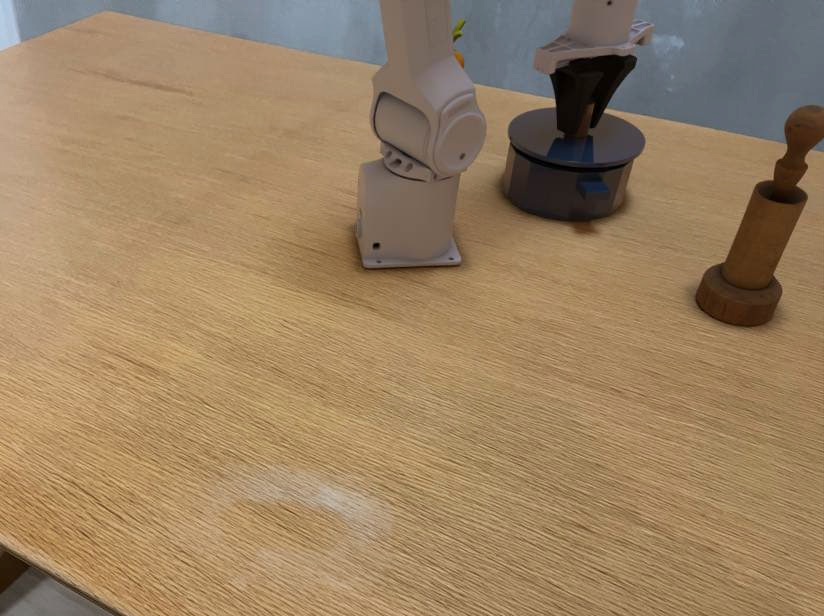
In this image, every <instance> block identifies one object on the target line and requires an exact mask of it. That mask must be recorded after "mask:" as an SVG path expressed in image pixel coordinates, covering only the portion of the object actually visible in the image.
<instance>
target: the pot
mask: <svg viewBox="0 0 824 616" xmlns="http://www.w3.org/2000/svg"><path fill="white" fill-rule="evenodd" d="M634 161H635V159H634V160H632V161H629V162H627V163H624V164H620V165H616V166H609V167H598V168H585V167H572V166H565V165H559V164H555V163H550V162H547V161H543V160H540V159H537V158H535V157H532V156H530V155H528V154H526V153H524V152H522V151H521V150H519V149H518V148H516V147H515V146H514V145H513V144H512V143H511V141H510V140H509V144H508V150H507V156H506V161H505V167H504V172H503V178H502V182H501V183H502V184H501V186H502V192H503V195H504V196H505V197H506V199H507V200H508V201H509V202H510V203H511V204H513V205H514V206H516V207H517V208H518V209H520V210H523V211H525V212H527V213H529V214H532V215H535V216H538V217H542V218H545V219H549V220H550V219H551V220H558V221H566V222H583V221H593V220H598V219H601V218H604V217H608V216H609V215H612V214H613V213H614V212H615V211H617V210H618V209H619V208H620V206H621V204H622V202H623V201H624V197H625V193H626V189H627V186H628V183H629V180H630V175H631V172H632V168H633V165H634Z"/></svg>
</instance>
